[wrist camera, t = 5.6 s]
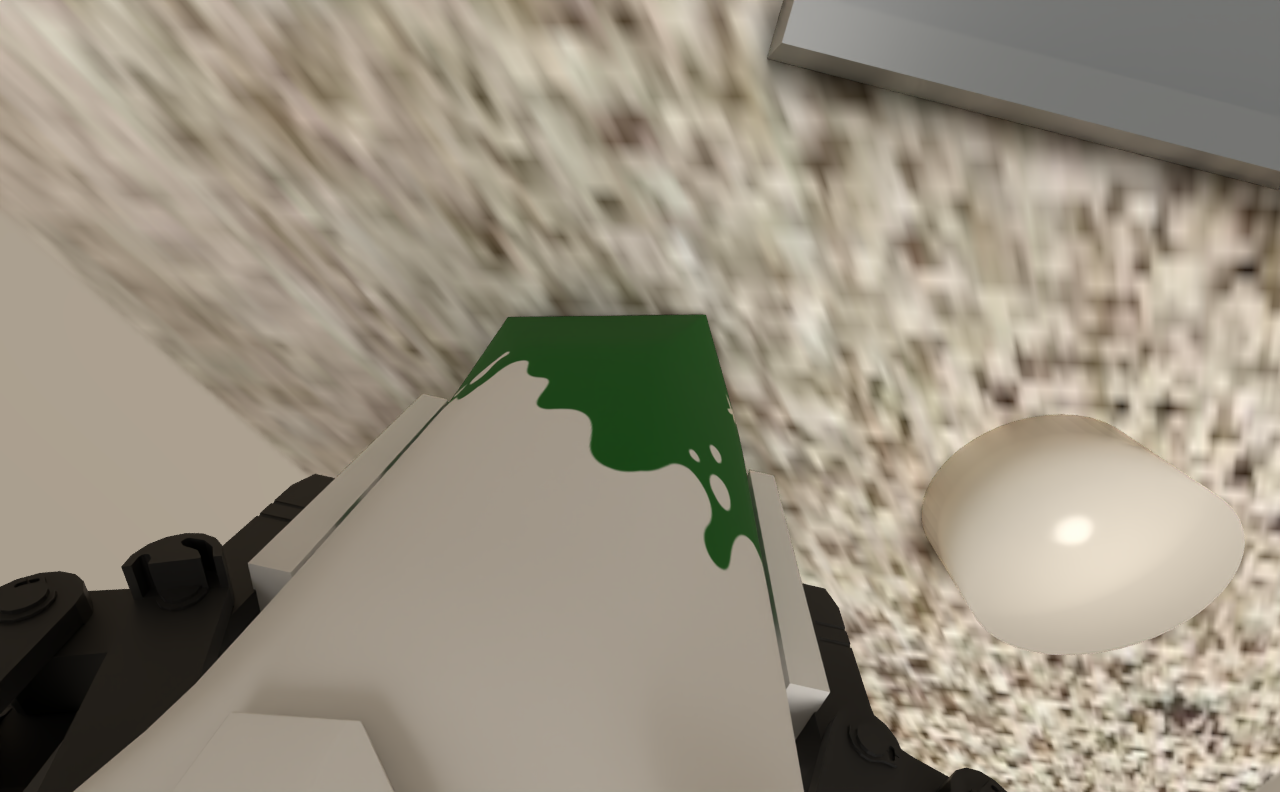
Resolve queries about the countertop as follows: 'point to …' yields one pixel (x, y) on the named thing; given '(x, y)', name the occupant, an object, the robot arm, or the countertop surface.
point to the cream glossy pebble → (1077, 536)
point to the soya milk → (517, 600)
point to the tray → (1071, 68)
